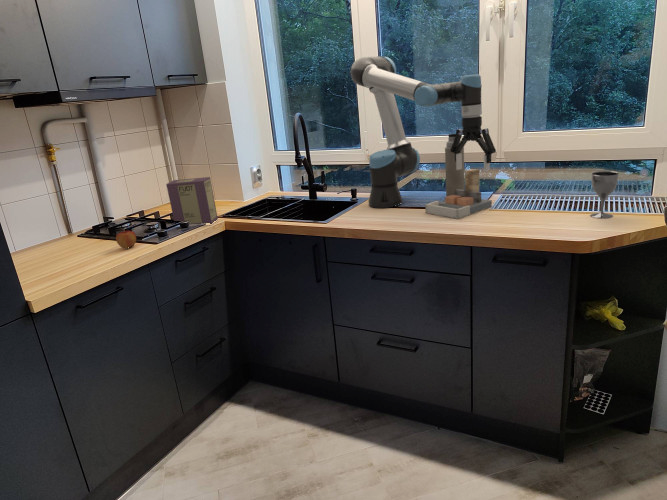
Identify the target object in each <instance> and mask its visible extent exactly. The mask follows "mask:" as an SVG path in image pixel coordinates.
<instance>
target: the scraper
mask: <svg viewBox="0 0 667 500" xmlns="http://www.w3.org/2000/svg"><path fill="white" fill-rule="evenodd" d="M455 195H457V196H461V197H471V198H473V202H477V203H480V202H481V199H482V192H481V191H480V169H475V168H474V169H473V168H472V169H471V168H470V169H466V170H464V190H460V189H456V190H455Z"/></svg>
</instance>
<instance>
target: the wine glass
mask: <svg viewBox="0 0 667 500" xmlns="http://www.w3.org/2000/svg"><path fill="white" fill-rule="evenodd" d="M619 175H620V174H619V172H617V171H613V170H608V171H607V170H602V171H601V170H599V171H593V172H591V186H592V187H591V188H592V190H593V192H594V193H595V194H596V195H597V196H598V198H599V199H600V211H599V212H595V213H591V214H590V215H589V216H590V217H591V218H593V219H594V218H595V219H601V220H602V219H611V218H613V217H614V214H612V213H608V212H606V213H605V212H604V208H605V207H604V206H605V202H606V200H607V198H608V197H609V196H610V195H611V194H612V193H613V192H614V191H615V190H616V188H617V185H618V181H619Z"/></svg>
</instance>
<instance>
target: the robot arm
mask: <svg viewBox="0 0 667 500" xmlns="http://www.w3.org/2000/svg"><path fill="white" fill-rule="evenodd" d="M350 77H351V79H352V81H353V82H354V83H355V84H357V85H358V86H361V87H364V88H367V89H368V90H369V93H372V94H373V95H374V99H375V103H376V107H377V110H378V113H379V114H378V115H379V117H380V121H381V124H382V128H383V132H384V135H385V139H386V142H387V147H386V149H382V150H378V151H375V152H373V153H371V154H370V156H369V163H368V164H369V165H368V166H369V175H370V184H371V185H370V187H371V190H370V193H369V199H368V207H371V208H376V209H387V208H393V206H395V205H398V204H400V203H402V204H403V196H402V195H401V192H400V189H399V186H398V178H400V177H403V176H408V175H410V174H413V173H414V172H416V170H417V169H418V168H419V166H420V162H421V155H420V153H419V151H418V150H416V148H414V147H413V146H412V142H411V141H410V140H407V137H406V134H405V130H404V126H403V122H402V119H401V115H400V111H399V108H398V104H397V99H396V97H395V95H396V96H399V97H401V98H405V99H408V100H411V101H413V102H415V103H416V104H417V105H418V107H431V106H436V105H444V104H448V103H449V104H450V103H458V102H459V103H461V117H462V118H461V126H462V128H459V129H456V130H455V134H456V136H455V139H454V142H453V145H452V147H451V150H450V151H451V152H453V153H454V154H455V162H456V170H460V169H462V153H461V152H460V151H461V150H462V148H463V147H464V148H465V145H466V144H467V142H469V141H471V142H474V141H475V142H476V143H477V144H478V145H479V147H480V148H481V150H482V151H483V152H484V154H483V172H484V173H487V172H490V171H491V169H490V168H491V163H492V154H494V153H497V150H496V147H495V145H494V143H493V140H492V138H491V136H490V134H489V132H490V131H489V128H483V129H482V124H483V121H482V120H483V119H482V118H483V117H482V113H483V110H482V76H481V75H480V74H478V73H477V74H469V75H462V76H461V77H460V81H454V82H443V83H437V84H430V83H427V82H423V81H420V80H416V79H414V78H411V77H408V76H404V75H401V74H398V73H397V68H396V64H395V63H394V61H393V59H391V58H389V57H388V56H383V55H378V56H364V57H363V56H362V57H359V58H357V59H356V60H355V61H354V62H353V63H352V65H351V67H350ZM460 140H461V142H460ZM459 142H460V143H459ZM398 206H399V205H398ZM395 207H396V206H395Z"/></svg>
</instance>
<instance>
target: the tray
mask: <svg viewBox="0 0 667 500" xmlns="http://www.w3.org/2000/svg"><path fill="white" fill-rule="evenodd" d="M439 202H440V201H439V200H435V201H432V202H429V203H425V205H424V209H425V214H428V215H429V214H430V215H435V216H439V217H440V216H441V217H445V218H449V219H450V218H451V219H456V220H459V219H462V218H465V217H468V216H470V215H471V214H470V206H469V205H468V206H465V207H462V208H459V209H453V208H447V207H441V206H439Z"/></svg>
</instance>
